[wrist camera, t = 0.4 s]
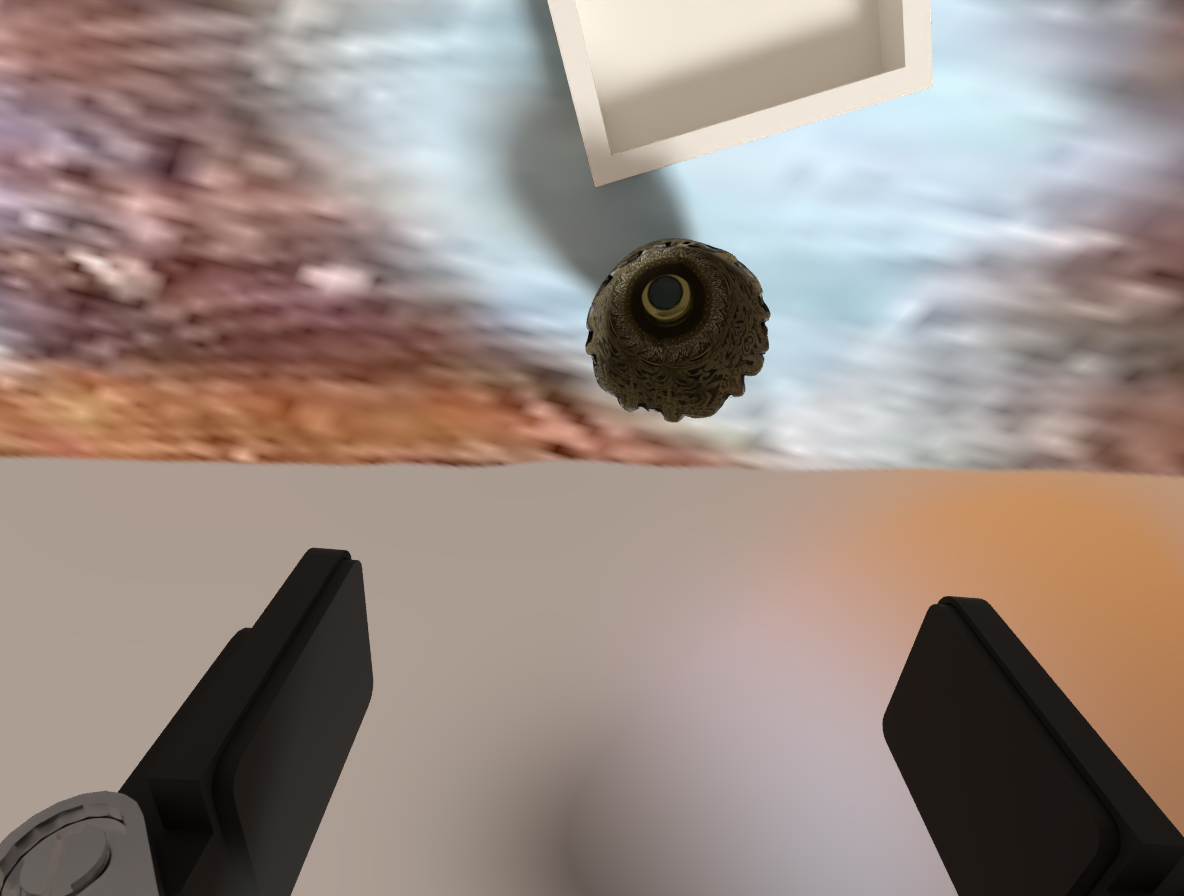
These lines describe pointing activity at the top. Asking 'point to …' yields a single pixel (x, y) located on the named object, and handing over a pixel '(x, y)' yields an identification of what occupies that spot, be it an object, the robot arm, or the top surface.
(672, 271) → the ornate bronze bell
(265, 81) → the top surface
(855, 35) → the tray
